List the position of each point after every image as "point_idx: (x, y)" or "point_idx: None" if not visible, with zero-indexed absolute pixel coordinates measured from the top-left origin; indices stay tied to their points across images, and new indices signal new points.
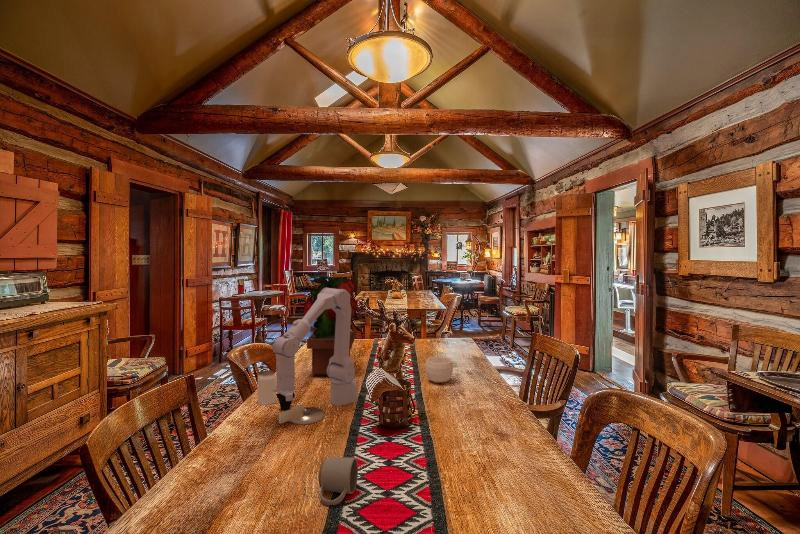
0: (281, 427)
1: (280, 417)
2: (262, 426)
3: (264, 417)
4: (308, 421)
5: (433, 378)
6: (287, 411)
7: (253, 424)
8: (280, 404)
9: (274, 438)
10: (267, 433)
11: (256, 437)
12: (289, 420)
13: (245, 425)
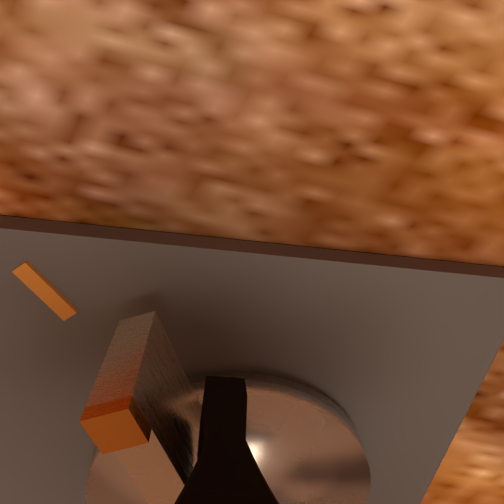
0: None
1: (108, 360)
2: (320, 174)
3: (493, 235)
4: (87, 484)
5: None
6: (129, 459)
7: (418, 109)
8: (185, 487)
9: (12, 204)
10: (144, 177)
11: (96, 56)
12: (200, 386)
13: (452, 23)
